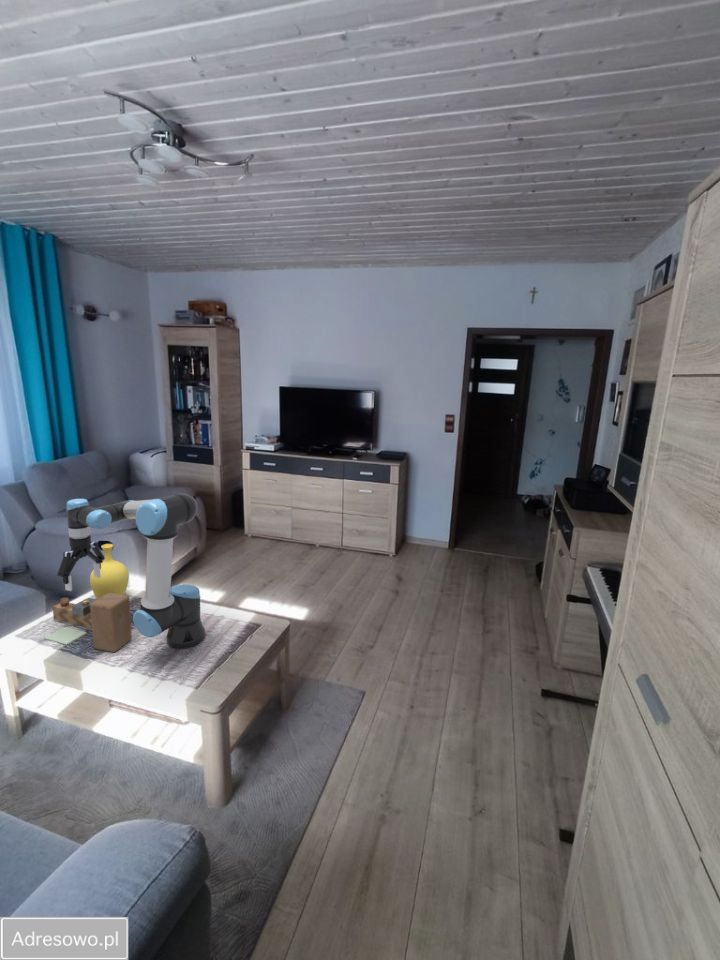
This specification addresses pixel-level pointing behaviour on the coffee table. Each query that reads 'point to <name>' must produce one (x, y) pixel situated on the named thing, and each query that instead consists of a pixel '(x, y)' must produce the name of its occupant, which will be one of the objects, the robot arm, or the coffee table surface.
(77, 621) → the body
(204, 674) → the coffee table surface
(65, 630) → the felt mat
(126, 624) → the wooden block
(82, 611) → the lever cap
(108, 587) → the vase
